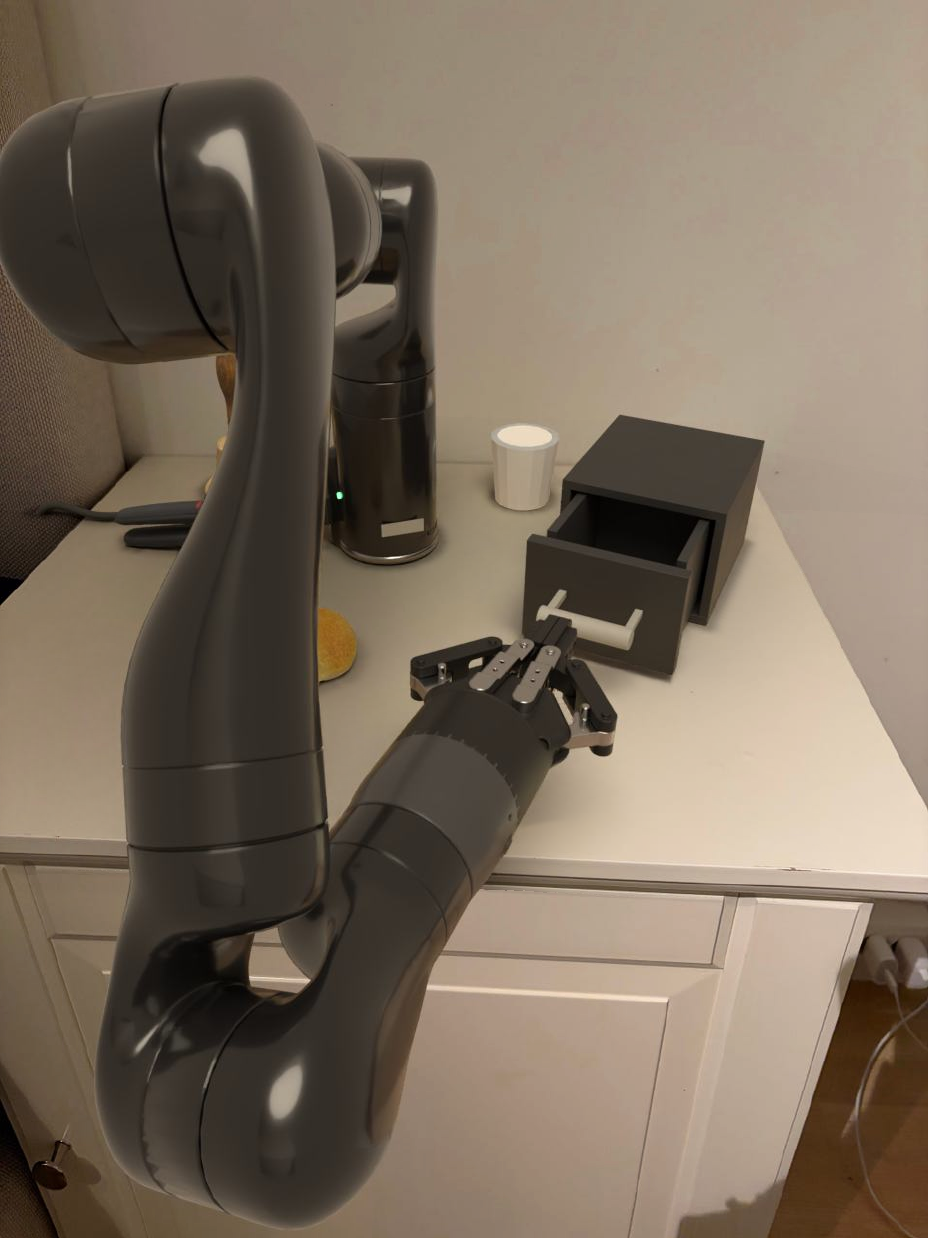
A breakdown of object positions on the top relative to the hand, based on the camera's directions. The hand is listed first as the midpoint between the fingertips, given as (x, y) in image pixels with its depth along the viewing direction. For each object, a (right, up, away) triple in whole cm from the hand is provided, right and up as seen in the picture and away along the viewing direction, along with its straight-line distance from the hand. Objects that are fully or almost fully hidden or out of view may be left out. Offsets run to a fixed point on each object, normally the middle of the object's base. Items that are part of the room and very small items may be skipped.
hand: (559, 628), depth 59 cm
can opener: (-30, +7, +28) cm, 42 cm away
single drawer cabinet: (+11, +6, +27) cm, 30 cm away
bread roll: (-19, -3, +14) cm, 24 cm away
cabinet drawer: (+6, 0, +18) cm, 19 cm away
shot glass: (0, +13, +38) cm, 40 cm away
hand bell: (-29, +14, +39) cm, 51 cm away
